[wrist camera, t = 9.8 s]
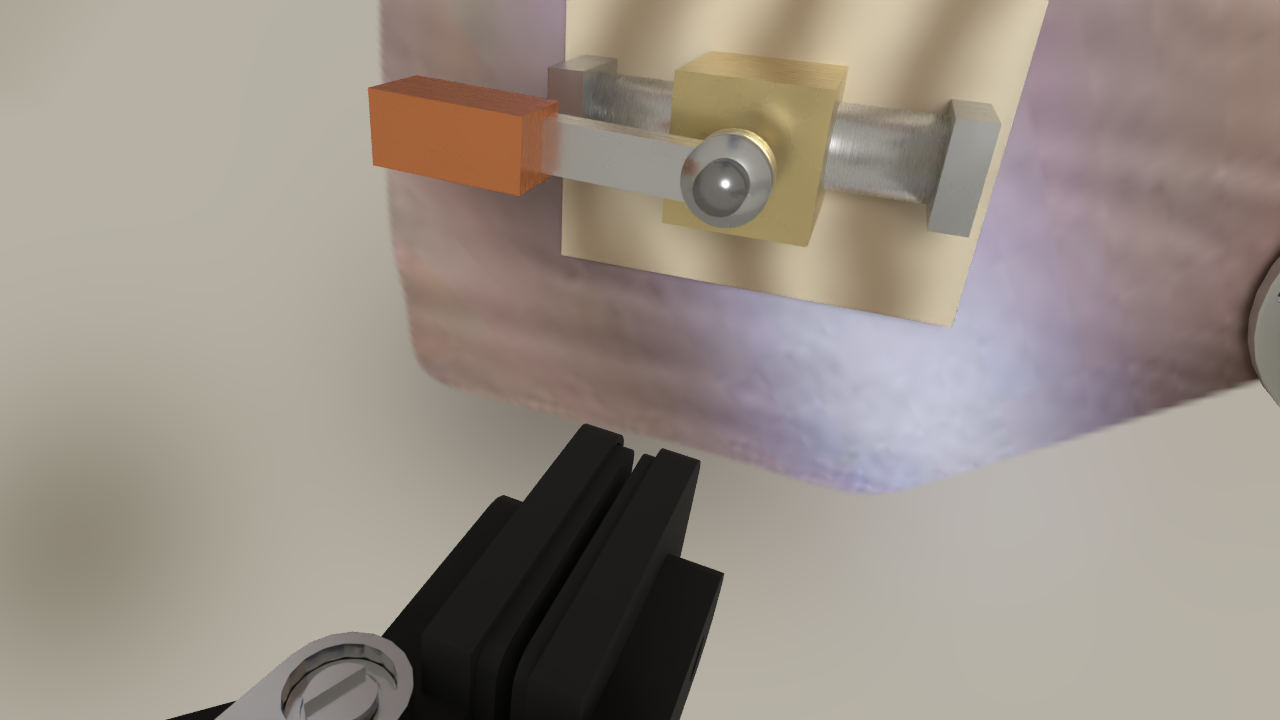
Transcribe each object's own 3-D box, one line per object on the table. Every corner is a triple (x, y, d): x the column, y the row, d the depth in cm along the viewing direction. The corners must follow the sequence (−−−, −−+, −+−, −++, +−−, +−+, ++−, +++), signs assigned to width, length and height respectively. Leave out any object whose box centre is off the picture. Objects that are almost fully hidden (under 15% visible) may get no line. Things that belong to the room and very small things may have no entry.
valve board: (1058, -53, 30) (1064, -53, 29) (950, 314, 38) (951, 327, 37) (580, -89, 35) (568, -90, 34) (571, 245, 43) (561, 254, 42)
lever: (785, 136, 27) (771, 157, 25) (768, 222, 29) (752, 251, 26) (416, 69, 30) (367, 81, 28) (419, 151, 32) (373, 170, 29)
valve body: (997, 83, 32) (1019, 120, 25) (958, 223, 35) (968, 290, 28) (585, 36, 36) (510, 56, 29) (581, 164, 39) (511, 210, 32)
